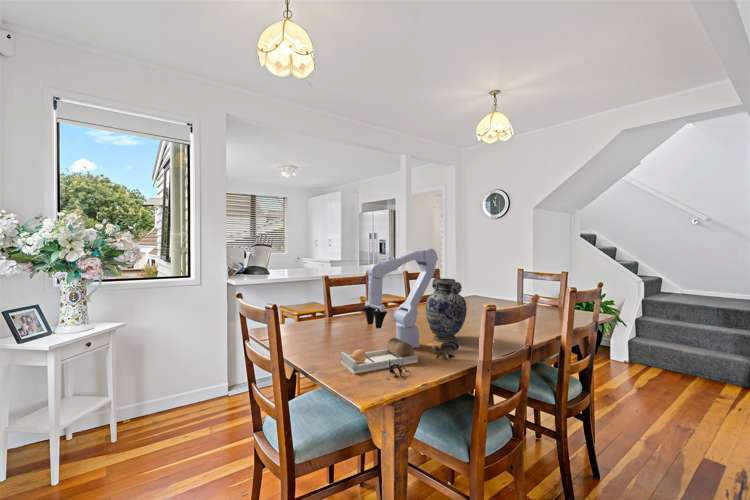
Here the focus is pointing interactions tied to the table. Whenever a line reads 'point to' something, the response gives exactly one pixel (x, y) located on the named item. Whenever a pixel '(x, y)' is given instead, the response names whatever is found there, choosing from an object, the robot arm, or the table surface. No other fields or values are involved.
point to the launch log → (400, 348)
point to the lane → (375, 361)
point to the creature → (397, 367)
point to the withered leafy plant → (445, 349)
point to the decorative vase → (446, 309)
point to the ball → (359, 356)
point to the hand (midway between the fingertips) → (374, 326)
